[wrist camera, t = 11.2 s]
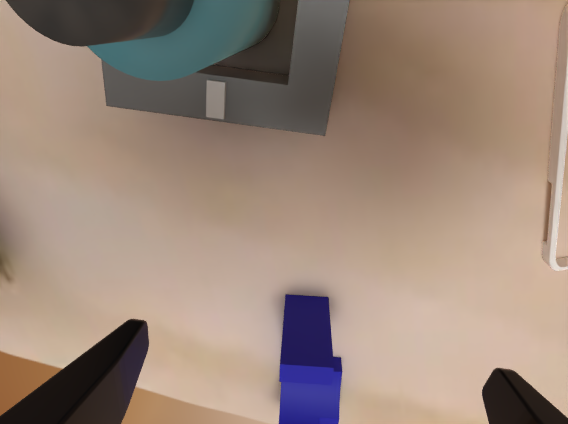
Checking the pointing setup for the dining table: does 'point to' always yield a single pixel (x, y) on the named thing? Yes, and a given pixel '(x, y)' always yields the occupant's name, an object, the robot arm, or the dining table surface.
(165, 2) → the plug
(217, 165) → the dining table surface
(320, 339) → the cable clip
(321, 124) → the socket
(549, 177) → the phone case
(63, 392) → the robot arm
